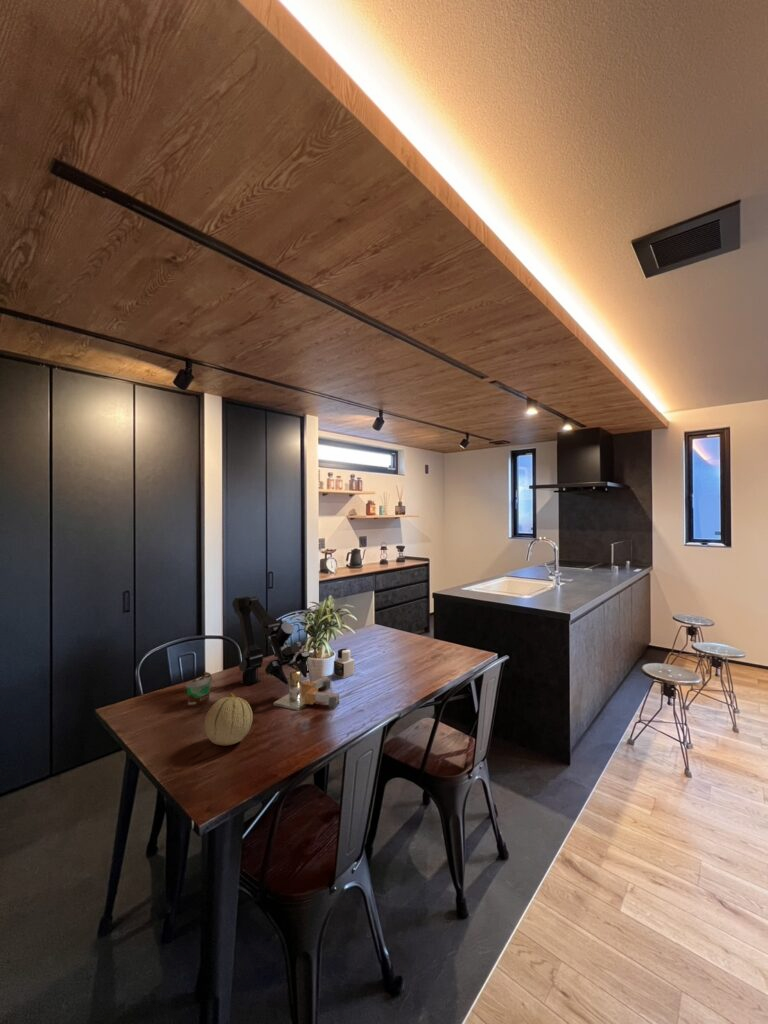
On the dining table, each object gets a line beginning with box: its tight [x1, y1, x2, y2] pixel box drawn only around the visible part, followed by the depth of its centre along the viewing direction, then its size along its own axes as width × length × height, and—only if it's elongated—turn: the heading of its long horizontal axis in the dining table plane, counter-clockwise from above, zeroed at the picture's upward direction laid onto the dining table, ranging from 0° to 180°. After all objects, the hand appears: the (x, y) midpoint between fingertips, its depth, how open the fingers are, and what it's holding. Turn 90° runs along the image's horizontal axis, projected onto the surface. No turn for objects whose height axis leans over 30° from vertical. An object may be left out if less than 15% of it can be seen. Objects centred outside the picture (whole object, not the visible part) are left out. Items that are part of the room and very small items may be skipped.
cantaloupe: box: [204, 692, 254, 747], centre depth 135 cm, size 15×15×15 cm
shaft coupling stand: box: [272, 676, 340, 711], centre depth 169 cm, size 24×24×5 cm
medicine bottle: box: [333, 648, 356, 679], centre depth 195 cm, size 7×7×12 cm
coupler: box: [288, 669, 302, 702], centre depth 166 cm, size 4×4×11 cm
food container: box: [185, 671, 213, 707], centre depth 167 cm, size 12×6×10 cm, turn 168°
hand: (296, 680), depth 165 cm, fingers open, 9 cm apart
